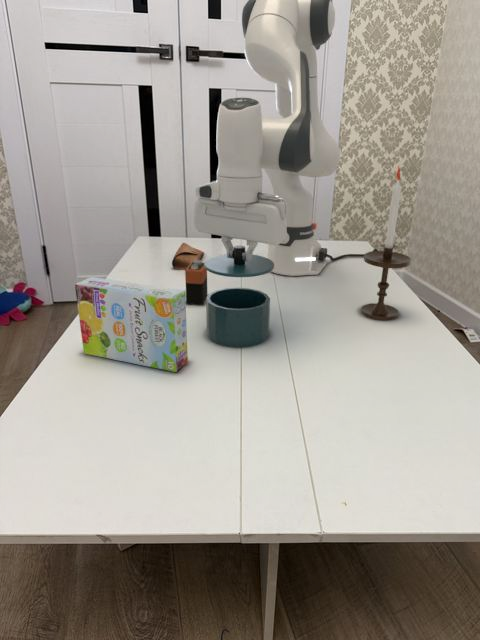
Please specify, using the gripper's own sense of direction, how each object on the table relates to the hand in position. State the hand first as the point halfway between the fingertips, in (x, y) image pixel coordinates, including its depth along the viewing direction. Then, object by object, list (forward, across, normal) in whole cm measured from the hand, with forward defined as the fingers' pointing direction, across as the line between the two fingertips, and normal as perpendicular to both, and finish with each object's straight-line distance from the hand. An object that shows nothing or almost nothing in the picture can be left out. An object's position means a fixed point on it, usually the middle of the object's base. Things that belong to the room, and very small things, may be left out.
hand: (239, 259), depth 105 cm
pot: (+17, 0, 0) cm, 17 cm away
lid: (+2, 0, 0) cm, 2 cm away
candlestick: (+18, -23, -30) cm, 41 cm away
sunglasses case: (+18, +43, -39) cm, 60 cm away
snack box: (+17, +11, +21) cm, 30 cm away
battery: (+18, +20, -12) cm, 29 cm away
